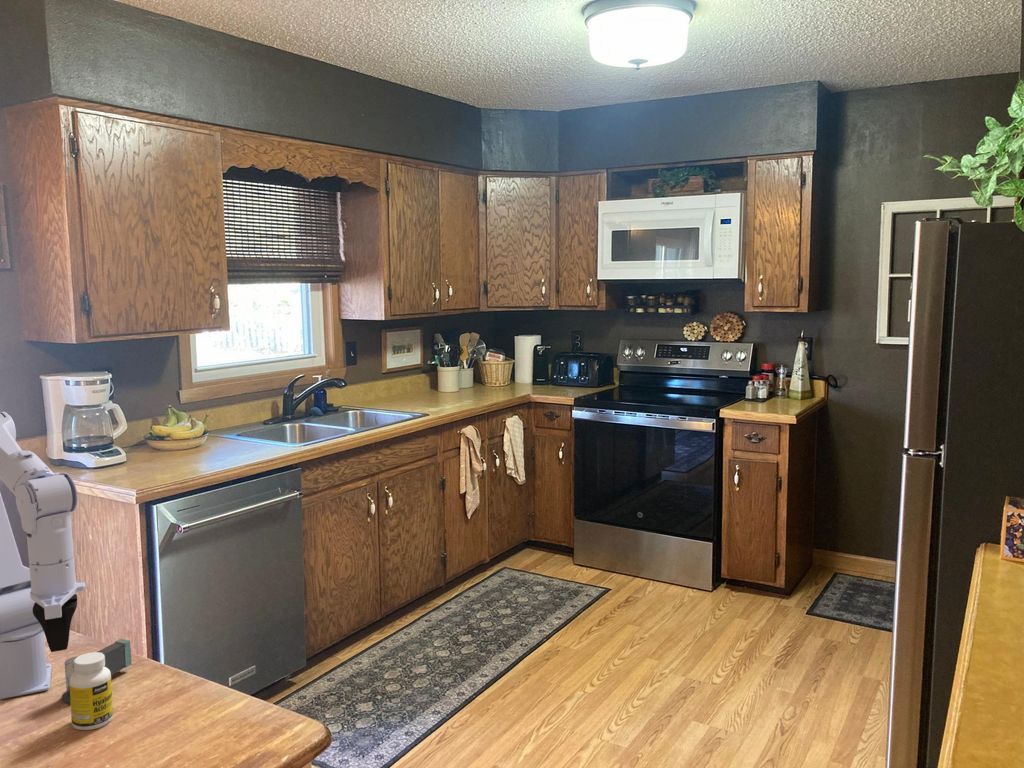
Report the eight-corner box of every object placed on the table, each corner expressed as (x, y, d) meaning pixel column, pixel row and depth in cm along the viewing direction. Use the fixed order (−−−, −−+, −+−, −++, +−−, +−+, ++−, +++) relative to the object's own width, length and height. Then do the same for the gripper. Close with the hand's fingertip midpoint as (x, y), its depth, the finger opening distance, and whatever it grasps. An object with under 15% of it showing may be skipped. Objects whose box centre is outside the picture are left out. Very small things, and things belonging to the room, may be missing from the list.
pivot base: (62, 693, 131) (62, 690, 131) (93, 687, 133) (93, 683, 133) (61, 706, 127) (61, 702, 127) (94, 700, 129) (93, 696, 129)
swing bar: (77, 697, 128) (74, 666, 127) (62, 694, 129) (59, 663, 128) (134, 665, 138) (132, 636, 138) (119, 662, 139) (117, 633, 139)
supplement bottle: (96, 733, 119) (92, 668, 118) (63, 729, 121) (58, 664, 119) (121, 714, 125) (117, 651, 123) (89, 710, 126) (85, 648, 124)
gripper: (82, 569, 116) (89, 662, 118) (83, 541, 129) (89, 626, 131) (23, 577, 113) (32, 673, 115) (30, 548, 126) (37, 635, 128)
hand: (59, 649), depth 123 cm, fingers closed
